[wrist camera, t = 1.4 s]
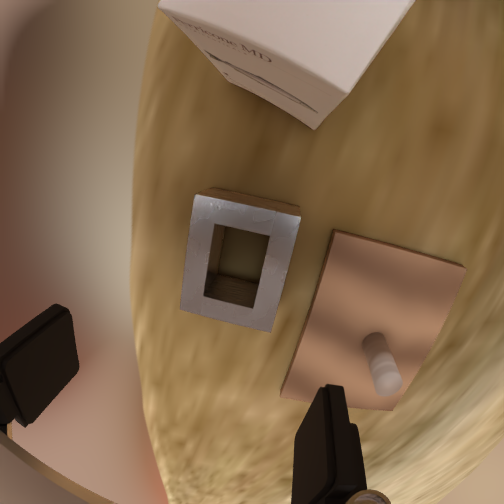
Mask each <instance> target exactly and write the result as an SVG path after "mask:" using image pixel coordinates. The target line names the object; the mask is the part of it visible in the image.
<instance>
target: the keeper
mask: <svg viewBox="0 0 504 504" xmlns="http://www.w3.org/2000/svg"><path fill="white" fill-rule="evenodd" d="M466 271H467V269H466V268H465V267H464V266H463V265H461V264H457V263H454V262H451V261H447V260H444V259H441V258H437V257H434V256H431V255H427V254H424V253H420V252H417V251H413V250H410V249H406V248H403V247H399V246H396V245H392V244H388V243H385V242H381V241H377V240H374V239H370V238H366V237H362V236H359V235H355V234H351V233H347V232H343V231H339V230H335V229H333V233H332V236H331V240H330V244H329V247H328V251H327V254H326V258H325V261H324V264H323V268H322V271H321V274H320V278H319V281H318V284H317V287H316V291H315V294H314V297H313V300H312V303H311V306H310V309H309V312H308V315H307V318H306V321H305V324H304V327H303V330H302V333H301V336H300V339H299V342H298V344H297V347H296V350H295V353H294V356H293V358H292V361H291V364H290V367H289V369H288V372H287V375H286V377H285V380H284V383H283V385H282V388H281V391H280V397H282V398H287V399H293V400H299V401H305V402H311V403H312V402H313V400H314V397H315V395H316V393H317V391H318V389H319V388H320V387H325V385H326V384H333V385H340V386H343V387H344V391H345V397H346V403H347V407H350V408H360V409H371V410H385V411H392V410H393V409H394V407H395V406H396V405H397V403H398V402H399V400H400V399H401V397H402V396H403V394H404V393H405V391H406V390H407V388H408V386H409V385H410V383H411V382H412V380H413V378H414V377H415V375H416V374H417V372H418V370H419V369H420V367H421V365H422V363H423V362H424V360H425V358H426V356H427V355H428V353H429V351H430V349H431V347H432V346H433V344H434V342H435V340H436V338H437V336H438V334H439V332H440V330H441V328H442V326H443V324H444V322H445V320H446V318H447V316H448V314H449V311H450V309H451V307H452V305H453V303H454V300H455V298H456V296H457V293H458V291H459V289H460V286H461V284H462V281H463V279H464V276H465V274H466Z"/></svg>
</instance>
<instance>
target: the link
mask: <svg viewBox="0 0 504 504" xmlns="http://www.w3.org/2000/svg"><path fill="white" fill-rule="evenodd" d="M300 220H301V214H300V208H299V206H296V205H291V204H287V203H283V202H278V201H274V200H270V199H265V198H261V197H256V196H251V195H247V194H242V193H237V192H232V191H227V190H223V189H218V188H209V189H206V190H204V191H201V192H199V193H196V194H195V195H194V202H193V208H192V215H191V222H190V229H189V236H188V243H187V251H186V259H185V267H184V275H183V284H182V294H181V303H180V310H184V311H187V312H191V313H194V314H198V315H202V316H206V317H209V318H213V319H217V320H221V321H225V322H229V323H232V324H237V325H241V326H245V327H249V328H253V329H257V330H262V331H266V332H270V333H271V329H272V326H273V322H274V319H275V315H276V312H277V308H278V304H279V301H280V297H281V293H282V290H283V286H284V282H285V278H286V275H287V271H288V267H289V263H290V259H291V256H292V252H293V248H294V244H295V240H296V236H297V232H298V228H299V224H300ZM225 226H229V227H233V228H237V229H242V230H246V231H251V232H255V233H259V234H264V235H268V236H270V239H269V243H268V248H267V252H266V256H265V261H264V265H263V269H262V274H261V278H260V282H259V284H258V283H253V282H249V281H245V280H241V279H237V278H233V277H228V276H224V275H220V274H217V272H218V266H219V260H220V254H221V249H222V243H223V237H224V232H225Z"/></svg>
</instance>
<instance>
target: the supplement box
mask: <svg viewBox="0 0 504 504" xmlns="http://www.w3.org/2000/svg"><path fill="white" fill-rule="evenodd" d="M414 2H415V0H160V2H159V3H158V8H159V9H160V10H161V11H163V12H164V13H165V14H166V15H167V16H168V17H169V18H170V19H171V20H172V21H173V22H174V23H175V24H176V25H177V26H178V27H179V28H180V29H181V30H182V31H183V32H184V33H185V34H186V35H187V36H188V37H189V38H190V39H191V41H192V42H193V43H194V44H195V45H196V46H197V47H198V48H199V49H200V50H201V51H202V53H203V54H204V55H205V56H206V57H207V58H208V59H209V60H210V61H211V63H212V64H213V65H214V66H215V67H216V68H217V69H218V70H219V72H220V73H221V74H222V75H223V76H224V77H225V78H226V80H227V81H228V82H230V83H233V84H235V85H237V86H239V87H242V88H244V89H246V90H248V91H250V92H252V93H254V94H256V95H258V96H260V97H261V98H263V99H265V100H267V101H269V102H270V103H272V104H274V105H276V106H277V107H279V108H281V109H282V110H284V111H286V112H287V113H289V114H291V115H292V116H294V117H295V118H297V119H298V120H300V121H301V122H303V123H304V124H306V125H307V126H309V127H310V128H312V129H313V130H315V129H317V128H318V127H319V125H320V124H321V123H322V122H323V120H324V119H325V118H326V117H327V116H328V115H329V114H330V113H331V112H332V111H333V110H334V109H335V108H336V107H337V106H338V105H339V104H340V103H341V102H342V101H343V100H344V99H345V98H346V97H347V96H348V95H349V93H350V92H351V90H352V89H353V88H354V86H355V85H356V83H357V82H358V81H359V79H360V78H361V76H362V75H363V74H364V72H365V71H366V69H367V68H368V67H369V65H370V64H371V62H372V61H373V60H374V58H375V57H376V55H377V54H378V53H379V51H380V50H381V48H382V47H383V46H384V44H385V43H386V41H387V40H388V39H389V37H390V36H391V34H392V33H393V32H394V30H395V29H396V27H397V26H398V24H399V23H400V22H401V20H402V19H403V17H404V16H405V14H406V13H407V12H408V10H409V9H410V7H411V6H412V5H413V3H414Z"/></svg>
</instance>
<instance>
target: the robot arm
mask: <svg viewBox="0 0 504 504" xmlns="http://www.w3.org/2000/svg"><path fill="white" fill-rule="evenodd" d="M78 370H79V361H78V355H77V350H76V343H75V336H74V329H73V321H72V315H71V314H70V311H69V309H67V308H66V307H63V306H61V305H59V304H54V305H52V306H51V307H49V308H48V309H46V310H45V311H43V312H42V313H41V314H39V315H38V316H36V317H35V318H34V319H32V320H31V321H30V322H28V323H27V324H25V325H24V326H23V327H22V328H20V329H19V330H17V331H16V332H15V333H13V334H12V335H11V336H9V337H8V338H7V339H5V340H4V341H3V342H1V343H0V504H117V503H114V502H112V501H110V500H108V499H106V498H104V497H102V496H100V495H98V494H96V493H94V492H92V491H90V490H88V489H86V488H84V487H82V486H80V485H79V484H77V483H75V482H73V481H71V480H70V479H68V478H66V477H65V476H63V475H62V474H60V473H58V472H56V471H55V470H53V469H52V468H50V467H48V466H47V465H46V464H44V463H43V462H41V461H40V460H38V459H37V458H35V457H34V456H32V455H31V454H30V453H28V452H27V451H26V450H24V449H23V448H22V447H20V446H19V445H18V444H16V443H15V442H14V441H13V440H12V420H13V419H14V418H15V420H16V421H17V422H18V423H19V424H21V425H22V426H23V427H26V426H27V425H28V424H31V423H33V422H34V421H35V420H36V418H38V416H39V415H40V414H41V413H42V412H43V411H44V410H45V408H46V407H47V406H48V405H49V404H50V403H51V402H52V400H53V399H54V398H55V397H56V396H57V395H58V394H59V392H60V391H61V390H62V389H63V388H64V387H65V386H66V385H67V384H68V382H69V381H70V380H71V379H72V378H73V377H74V376H75V375H76V374H77V372H78ZM291 504H391V502H390V501H389V499H388V498H387V497H386V496H385V495H384V494H383V493H381V492H378V491H376V490H367V484H366V476H365V469H364V463H363V456H362V450H361V443H360V437H359V431H358V427H357V425H356V424H353V423H350V421H349V415H348V409H347V403H346V397H345V391H344V387H343V386H340V385H333V384H326V385H325V387H320V388H319V389H318V391H317V393H316V395H315V397H314V400H313V402H312V404H311V406H310V408H309V410H308V412H307V414H306V416H305V418H304V419H303V421H302V423H301V425H300V427H299V429H298V431H297V433H296V436H295V441H294V464H293V482H292V498H291Z"/></svg>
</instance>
